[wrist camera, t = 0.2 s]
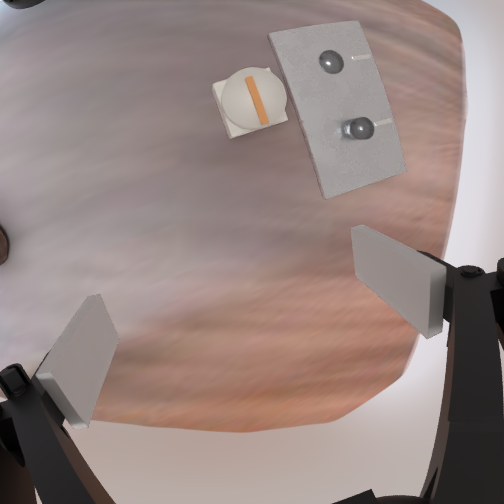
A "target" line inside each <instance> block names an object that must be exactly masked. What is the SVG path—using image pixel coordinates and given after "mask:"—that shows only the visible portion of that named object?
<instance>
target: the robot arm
mask: <svg viewBox="0 0 504 504" xmlns="http://www.w3.org/2000/svg"><path fill="white" fill-rule="evenodd" d="M42 1H44V0H3V2H5V3H6V4H7V5H9V6H10V7H12V8H16V9H22V8H27V7H31V6H34V5H36V4H38V3H40V2H42ZM350 231H351V239H352V247H353V255H354V264H355V274H356V277H357V278H358V279H359V280H360V281H362V282H363V283H364V284H365V285H366V286H368V287H369V288H370V289H371V290H372V291H373V292H374V293H376V294H377V295H378V296H379V297H380V298H381V299H383V300H384V301H385V302H386V303H387V304H388V305H389V306H391V307H392V308H393V309H394V310H395V311H396V312H397V313H398V314H400V315H401V316H402V317H403V318H404V319H405V320H406V321H407V322H409V323H410V324H411V325H412V326H413V327H414V328H415V329H416V330H417V331H419V332H420V333H421V334H422V335H423V336H424V337H425V338H426V339H429V338H431V337H433V336H435V335H437V334H439V333H441V332H442V328H443V318H444V319H445V320H446V321H448V322H449V323H450V324H449V332H448V340H447V347H448V351H447V363H446V374H445V383H444V391H443V399H442V405H441V412H440V417H439V423H438V429H437V434H436V439H435V444H434V448H433V453H432V457H431V461H430V465H429V469H428V473H427V476H426V480H425V483H424V486H423V488H422V491H421V494H420V497H416V496H406V495H399V496H398V495H395V496H394V495H393V496H383V497H378V498H376V497H375V495H374V493H373V491H372V489H370V490H367V491H365V492H362V493H360V494H357V495H355V496H352V497H349V498H347V499H344V500H341V501H338V502H335V503H332V504H504V406H503V405H504V404H503V384H502V383H503V382H502V369H501V359H500V350H499V342H498V339H499V341H500V343H501V345H502V348H503V350H504V258H501V259H500V260H499V261H498V263H497V271H496V272H492V273H487V274H486V273H485V272H484V270H482V269H481V268H479V267H476V266H469V265H467V266H461V267H458V268H456V267H454V266H452V265H450V264H448V263H446V262H444V261H443V260H442V261H441V259H439V258H437V257H435V256H433V255H431V254H429V253H427V252H422V251H418V250H417V251H415V250H414V249H412V248H410V247H408V246H406V245H404V244H402V243H400V242H398V241H396V240H394V239H392V238H390V237H388V236H386V235H384V234H382V233H380V232H378V231H376V230H374V229H372V228H370V227H368V226H366V225H363V224H362V225H359V226H355V227H351V228H350ZM119 340H120V338H119V336H118V333H117V331H116V329H115V327H114V325H113V323H112V320H111V318H110V316H109V314H108V311H107V309H106V307H105V304H104V302H103V300H102V297H101V295H100V294H97V295H93V296H89V297H87V299H86V300H85V301H84V303H83V304H82V305H81V307H80V308H79V310H78V311H77V312H76V314H75V315H74V317H73V318H72V320H71V321H70V322H69V324H68V325H67V327H66V328H65V330H64V331H63V333H62V334H61V336H60V337H59V339H58V340H57V342H56V343H55V345H54V346H53V348H52V349H51V350H50V351H49V352H48V353H47V355H46V356H45V358H44V359H43V362H41V364H40V365H39V367H38V369H37V370H36V372H35V373H34V375H33V377H32V378H31V380H30V378H29V377H28V375H27V374H26V372H25V370H24V369H23V367H22V366H21V364H18V363H16V364H12V365H10V366H7V367H6V368H5V369H3V370H2V371H1V372H0V388H1V389H2V391H3V392H4V394H5V395H6V397H7V398H8V400H6V401H4V402H1V403H0V504H37V501H36V494H35V488H36V490H37V493H38V495H39V497H40V500H41V502H42V504H116V503H115V502H114V501H113V499H112V498H111V497H110V496H109V494H108V493H107V492H106V490H105V489H104V488H103V486H102V485H101V483H100V482H99V480H98V479H97V478H96V476H95V475H94V473H93V472H92V470H91V469H90V467H89V466H88V464H87V463H86V461H85V460H84V458H83V457H82V455H81V453H80V452H79V450H78V449H77V447H76V445H75V444H74V442H73V440H72V439H71V437H70V435H69V434H68V432H67V430H66V429H65V428H64V427H63V425H62V424H63V422H64V419H66V420H67V421H68V422H69V424H70V425H71V427H72V428H88V427H89V424H90V421H91V417H92V414H93V411H94V408H95V405H96V402H97V399H98V397H99V394H100V391H101V388H102V385H103V382H104V380H105V377H106V374H107V371H108V369H109V366H110V363H111V361H112V358H113V355H114V353H115V350H116V347H117V345H118V342H119ZM34 485H35V487H34Z"/></svg>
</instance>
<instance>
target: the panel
mask: <svg viewBox="0 0 504 504" xmlns="http://www.w3.org/2000/svg"><path fill="white" fill-rule="evenodd" d="M267 37H268V40H269V42H270V44H271V47H272V49H273V52H274V55H275V57H276V60H277V62H278V65H279V67H280V70H281V73H282V75H283V78H284V81H285V83H286V86H287V89H288V92H289V94H290V97H291V100H292V103H293V106H294V109H295V111H296V114H297V117H298V120H299V123H300V126H301V129H302V132H303V135H304V138H305V141H306V144H307V148H308V151H309V154H310V157H311V160H312V164H313V167H314V170H315V173H316V177H317V180H318V183H319V187H320V190H321V194H322V197H323V198H324V199H328V198H331V197H334V196H337V195H339V194H342V193H345V192H348V191H351V190H354V189H357V188H360V187H362V186H365V185H368V184H371V183H374V182H377V181H380V180H383V179H386V178H389V177H392V176H395V175H398V174H401V173H404V172H406V171H407V170H406V166H405V161H404V157H403V153H402V149H401V145H400V141H399V137H398V133H397V129H396V126H395V122H394V119H393V115H392V112H391V108H390V105H389V102H388V99H387V95H386V92H385V89H384V86H383V83H382V80H381V77H380V74H379V72H378V69H377V66H376V63H375V61H374V58H373V55H372V53H371V50H370V47H369V45H368V42H367V40H366V38H365V35H364V33H363V30H362V28H361V26H360V23H359V21H346V22H336V23H328V24H320V25H312V26H306V27H300V28H294V29H288V30H283V31H277V32H273V33H269V34H268V36H267Z"/></svg>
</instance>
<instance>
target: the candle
mask: <svg viewBox="0 0 504 504" xmlns="http://www.w3.org/2000/svg"><path fill="white" fill-rule="evenodd" d="M6 259H7V241H6V238H5V236H4V235H3V233H2V231H1V230H0V265H2V264H3V263H4V262H5V261H6Z"/></svg>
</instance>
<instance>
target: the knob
mask: <svg viewBox="0 0 504 504" xmlns="http://www.w3.org/2000/svg"><path fill="white" fill-rule="evenodd" d="M212 92H213V95H214V98H215V100H216V103H217V106H218V109H219V111H220V114H221V117H222V120H223V122H224V125H225V128H226V131H227V134H228V136H229V139H233V138H235V137H238V136H241V135H244V134H247V133H251V132H254V131H257V130H260V129H263V128H266V127H270V126H273V125H276V124H279V123H282V122H285V121H287V120H288V118H287V115H286V112H285V106H286V101H287V96H286V91H285V88H284V85H283V84H282V82H281V81H280V79H279V78H278V77H277V76H276V75H275V74H273V73H272V72H271V71H270V68H265V69H262V68H257V67H250V68H244V69H241V70H239V71H237V72H236V73H234V74H233V75H232V76H231V77H230V78H229V79H226V80H223V81H220V82H217V83H214V84H213V86H212Z"/></svg>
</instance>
